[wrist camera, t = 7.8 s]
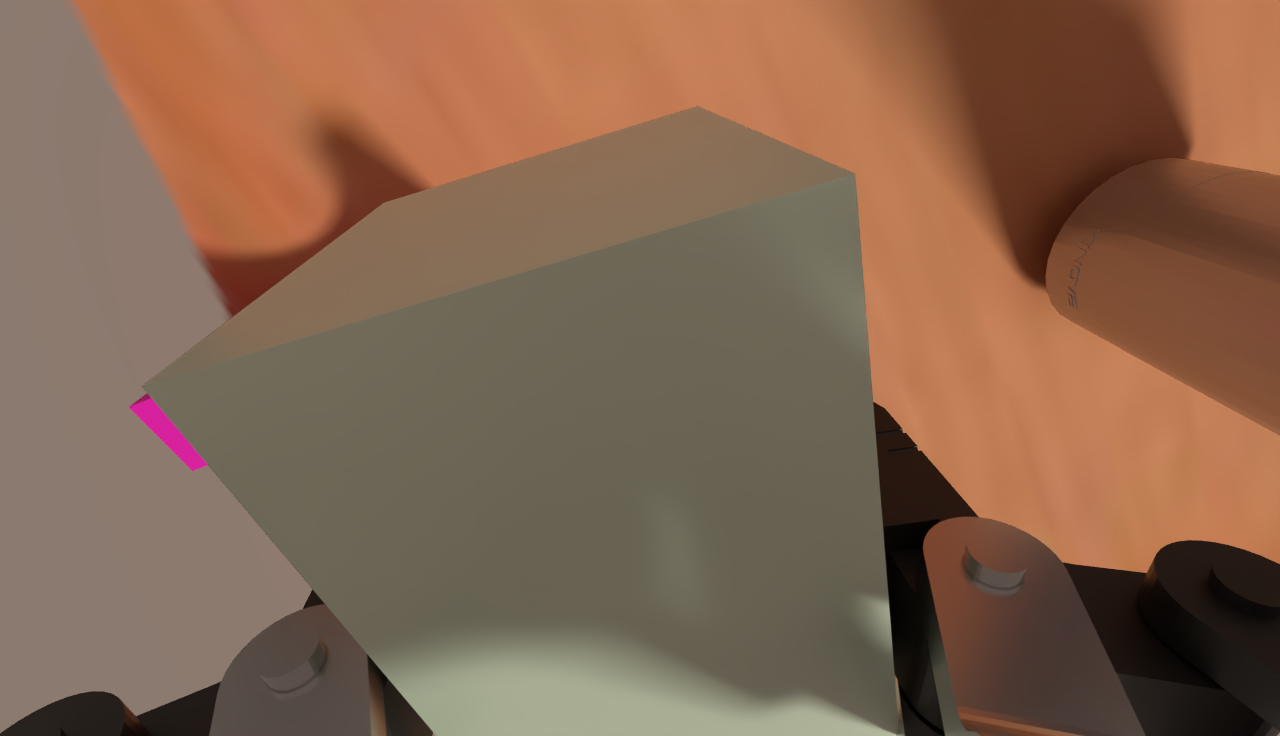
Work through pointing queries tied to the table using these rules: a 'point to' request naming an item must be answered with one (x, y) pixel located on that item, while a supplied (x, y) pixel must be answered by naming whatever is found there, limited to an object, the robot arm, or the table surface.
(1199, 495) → the table surface
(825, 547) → the green brick
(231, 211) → the table surface
